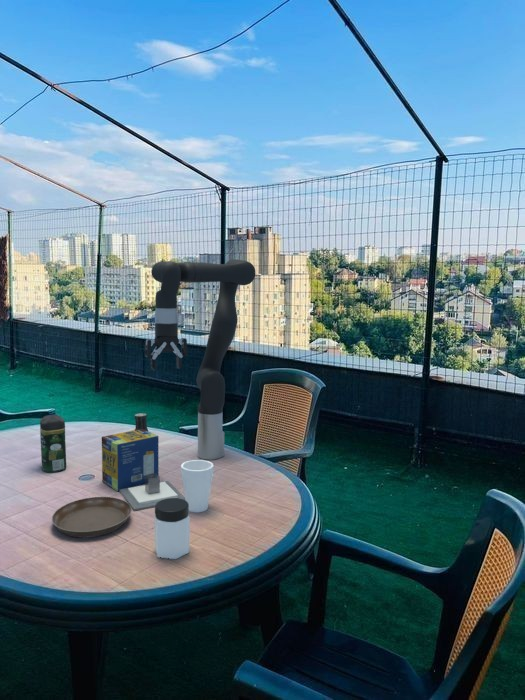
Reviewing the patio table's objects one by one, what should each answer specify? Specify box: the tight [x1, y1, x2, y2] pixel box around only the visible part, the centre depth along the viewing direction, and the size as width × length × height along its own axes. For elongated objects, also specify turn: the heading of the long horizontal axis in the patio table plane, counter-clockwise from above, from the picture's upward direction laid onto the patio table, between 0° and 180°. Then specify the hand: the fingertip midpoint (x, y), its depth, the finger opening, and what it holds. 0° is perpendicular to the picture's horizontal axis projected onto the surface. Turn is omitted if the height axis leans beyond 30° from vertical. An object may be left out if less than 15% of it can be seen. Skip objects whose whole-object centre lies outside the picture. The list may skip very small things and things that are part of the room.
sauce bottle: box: [134, 412, 150, 432], centre depth 183 cm, size 6×6×20 cm
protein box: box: [101, 429, 159, 492], centre depth 173 cm, size 10×15×16 cm
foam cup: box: [180, 459, 215, 513], centre depth 154 cm, size 10×9×13 cm
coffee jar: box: [39, 414, 67, 473], centre depth 183 cm, size 10×8×19 cm
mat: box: [119, 480, 185, 512], centre depth 163 cm, size 16×16×1 cm
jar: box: [154, 498, 191, 560], centre depth 130 cm, size 9×8×12 cm
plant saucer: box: [51, 496, 133, 538], centre depth 144 cm, size 21×21×3 cm
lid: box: [128, 473, 178, 505], centre depth 162 cm, size 12×12×6 cm
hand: (166, 369), depth 179 cm, fingers open, 8 cm apart
